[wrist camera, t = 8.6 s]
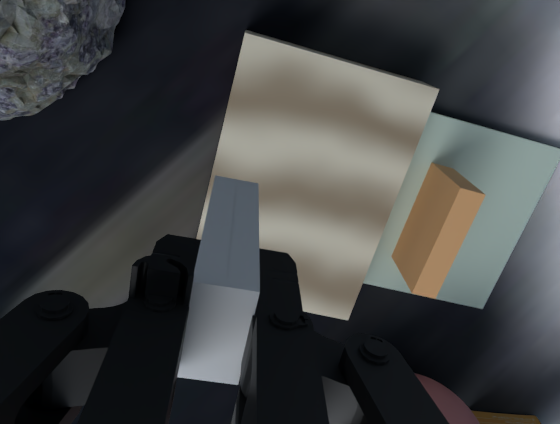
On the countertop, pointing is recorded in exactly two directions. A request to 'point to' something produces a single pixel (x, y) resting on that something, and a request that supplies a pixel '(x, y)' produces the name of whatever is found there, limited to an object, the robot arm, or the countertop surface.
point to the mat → (491, 215)
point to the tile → (436, 229)
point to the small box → (504, 418)
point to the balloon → (448, 402)
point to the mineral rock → (50, 48)
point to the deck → (320, 159)
